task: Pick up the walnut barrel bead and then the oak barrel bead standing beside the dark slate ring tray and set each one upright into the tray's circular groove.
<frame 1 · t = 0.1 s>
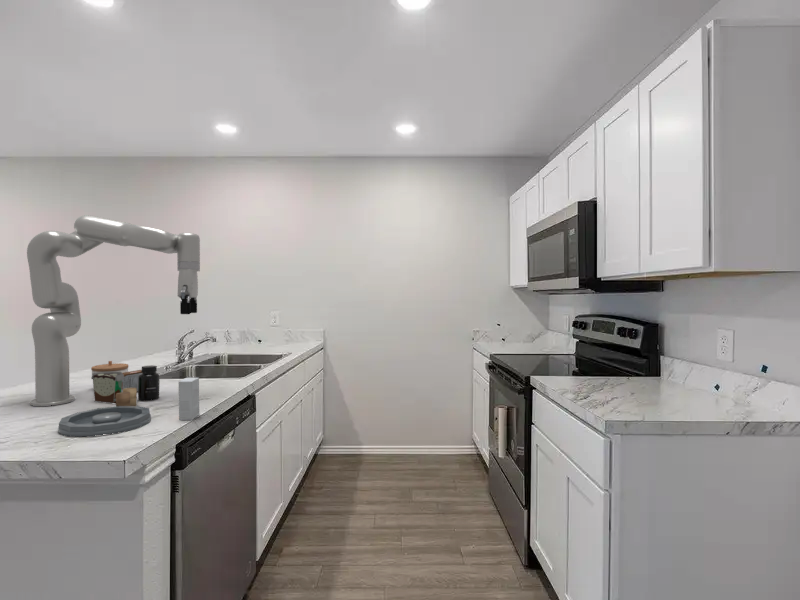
hand: (189, 313, 167), 31 cm above the countertop, tool pointing down, fingers open, 9 cm apart
skincare box: (189, 418, 141), on the countertop
supplement bottle: (149, 399, 165), on the countertop
oak bead: (129, 406, 154), on the countertop
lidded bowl: (110, 388, 183), on the countertop
tin: (133, 393, 175), on the countertop
walnut bead: (123, 411, 148), on the countertop
food container: (112, 401, 162), on the countertop
slate tray: (106, 424, 133), on the countertop
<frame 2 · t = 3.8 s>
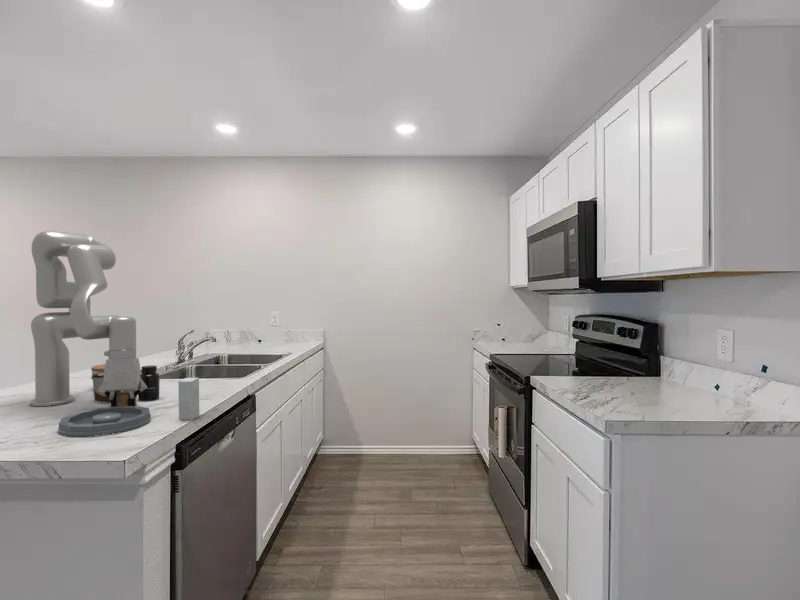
hand: (123, 409, 148), 1 cm above the countertop, tool pointing down, fingers closed on walnut bead, 4 cm apart
walnut bead: (123, 411, 148), on the countertop, touching gripper
everything else where it was.
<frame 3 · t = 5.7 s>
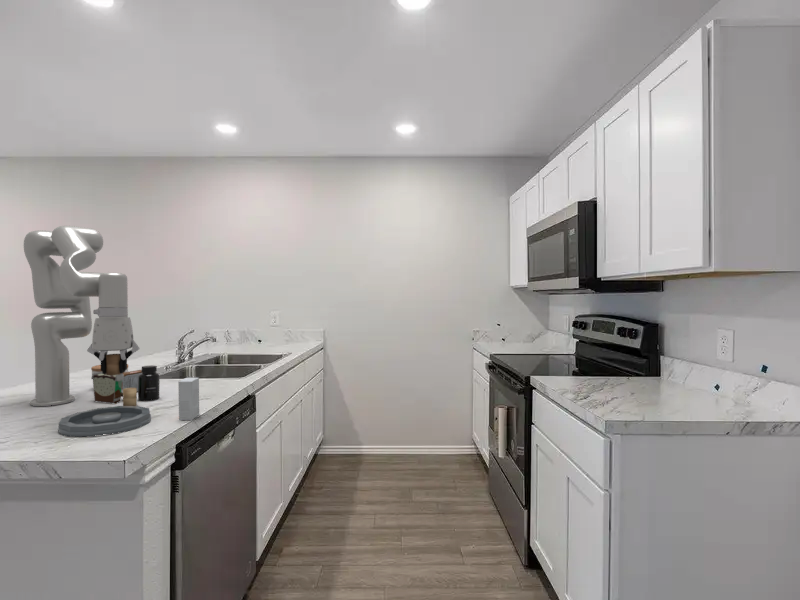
hand: (114, 372, 139), 14 cm above the countertop, tool pointing down, fingers closed on walnut bead, 4 cm apart
walnut bead: (114, 373, 139), point 14 cm above the countertop, touching gripper
everything else where it was.
when the fingers open (3 cm above the countertop, at t = 7.6 s): walnut bead drops 1 cm, resting on slate tray.
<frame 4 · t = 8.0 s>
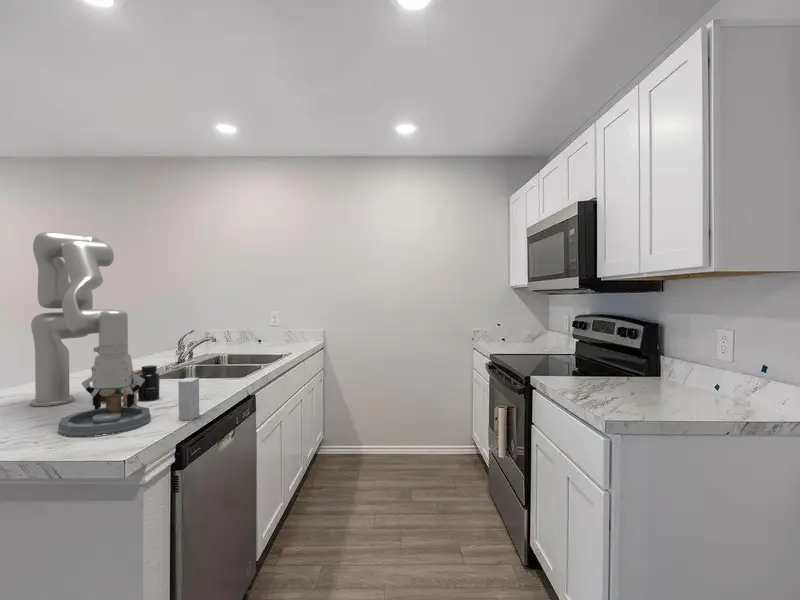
hand: (113, 407, 139), 4 cm above the countertop, tool pointing down, fingers open, 8 cm apart
walnut bead: (113, 414, 139), point 1 cm above the countertop, touching slate tray
everything else where it was.
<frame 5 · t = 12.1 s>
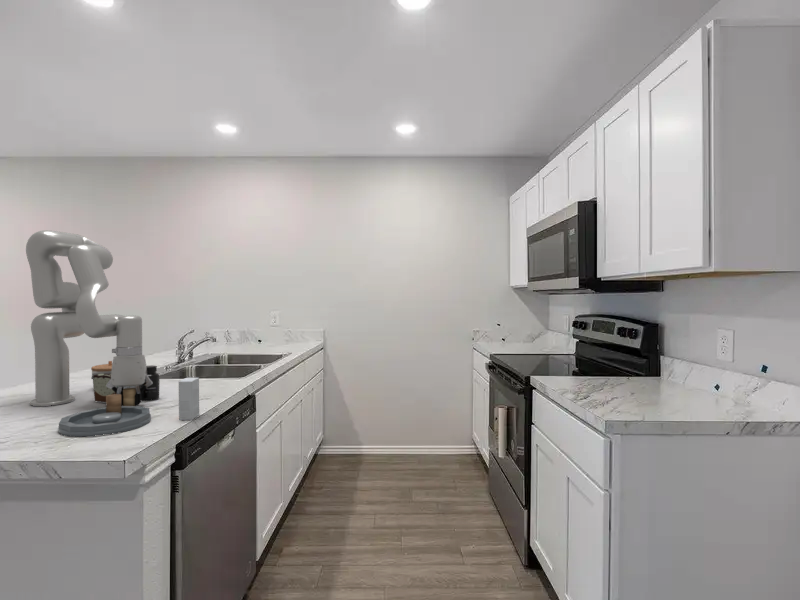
hand: (129, 404, 154), 1 cm above the countertop, tool pointing down, fingers closed on oak bead, 4 cm apart
oak bead: (129, 406, 154), on the countertop, touching gripper
everything else where it was.
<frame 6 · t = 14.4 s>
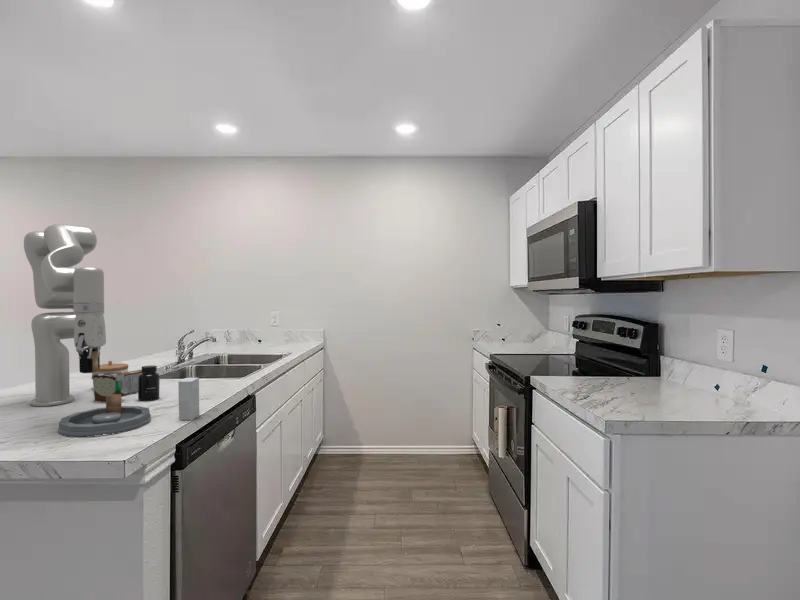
hand: (89, 370, 134), 16 cm above the countertop, tool pointing down, fingers closed on oak bead, 4 cm apart
oak bead: (90, 372, 134), point 15 cm above the countertop, touching gripper
everything else where it was.
when the fingers open (3 cm above the countertop, at t = 16.9 s): oak bead drops 1 cm, resting on slate tray.
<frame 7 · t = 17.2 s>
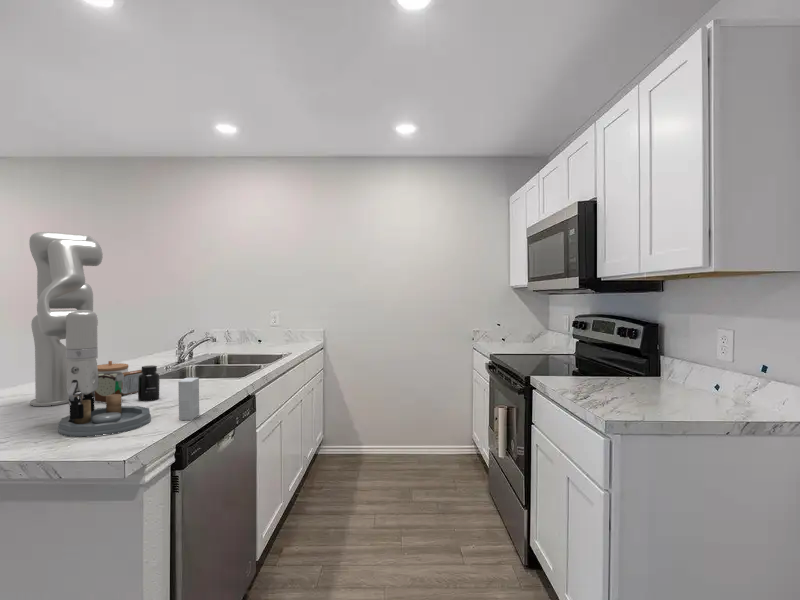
hand: (82, 414, 131), 3 cm above the countertop, tool pointing down, fingers open, 7 cm apart
oak bead: (82, 422, 131), point 1 cm above the countertop, touching slate tray
everything else where it was.
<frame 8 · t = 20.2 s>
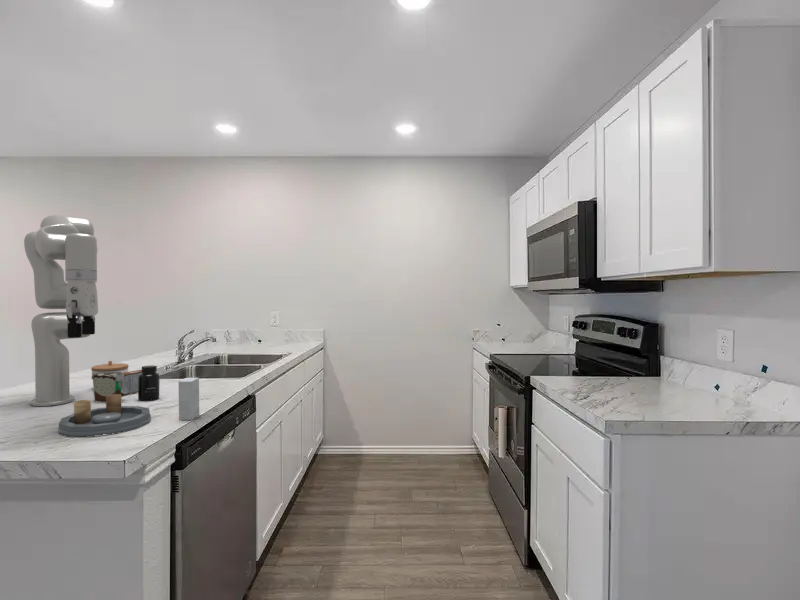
hand: (81, 335, 131), 26 cm above the countertop, tool pointing down, fingers open, 9 cm apart
nothing on the countertop moved.
at the end: walnut bead 0.1 cm from the target spot on the slate tray, point 1.2 cm above the slate tray's base; oak bead 0.2 cm from the target spot on the slate tray, point 1.2 cm above the slate tray's base; oak bead tilted 0° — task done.
